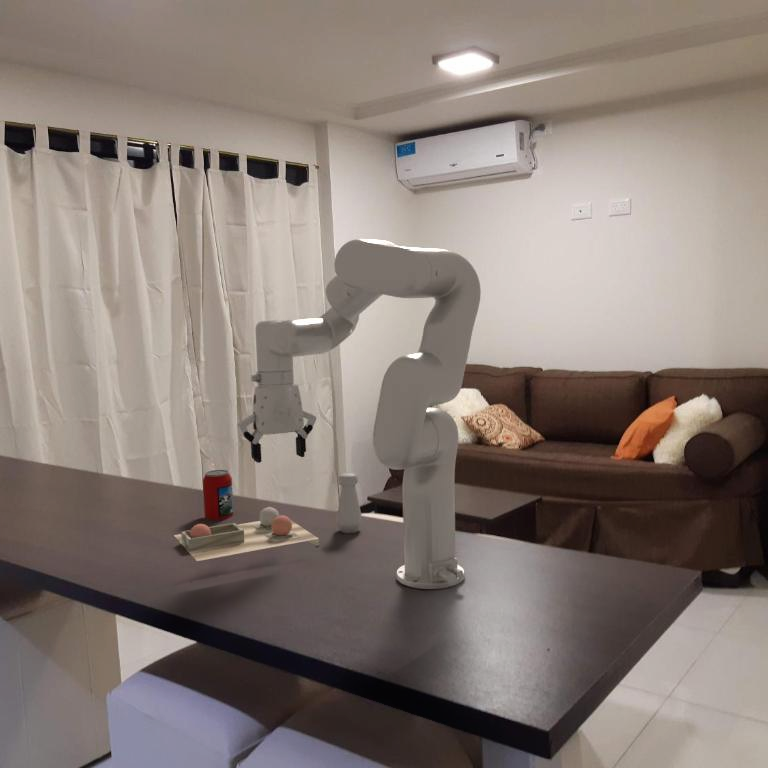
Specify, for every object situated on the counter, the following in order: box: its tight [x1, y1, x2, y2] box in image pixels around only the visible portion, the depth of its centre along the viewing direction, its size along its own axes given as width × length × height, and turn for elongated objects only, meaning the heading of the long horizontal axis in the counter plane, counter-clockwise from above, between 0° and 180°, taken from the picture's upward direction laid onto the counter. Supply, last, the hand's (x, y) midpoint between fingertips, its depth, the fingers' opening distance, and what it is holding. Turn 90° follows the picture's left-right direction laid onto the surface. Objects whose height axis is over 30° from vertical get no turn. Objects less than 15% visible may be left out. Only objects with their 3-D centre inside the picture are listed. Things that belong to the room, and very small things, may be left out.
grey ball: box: [259, 506, 280, 527], centre depth 173 cm, size 4×4×4 cm
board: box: [173, 520, 320, 562], centre depth 166 cm, size 20×26×4 cm
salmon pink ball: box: [271, 514, 292, 536], centre depth 166 cm, size 4×4×4 cm
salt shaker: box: [335, 472, 363, 534], centre depth 173 cm, size 6×6×13 cm
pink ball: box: [190, 523, 211, 538], centre depth 161 cm, size 4×4×4 cm
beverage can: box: [202, 469, 235, 521], centre depth 183 cm, size 7×7×12 cm
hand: (279, 458), depth 164 cm, fingers open, 9 cm apart
